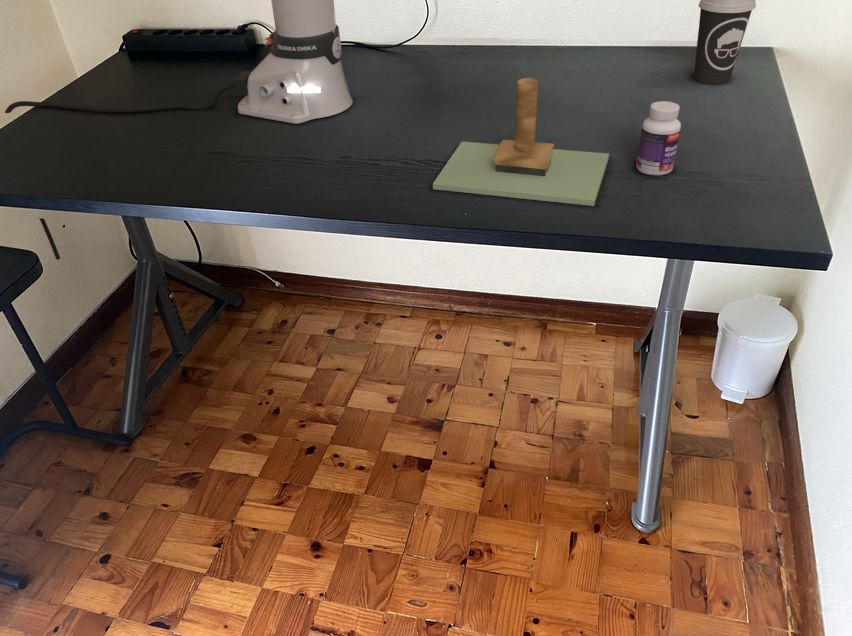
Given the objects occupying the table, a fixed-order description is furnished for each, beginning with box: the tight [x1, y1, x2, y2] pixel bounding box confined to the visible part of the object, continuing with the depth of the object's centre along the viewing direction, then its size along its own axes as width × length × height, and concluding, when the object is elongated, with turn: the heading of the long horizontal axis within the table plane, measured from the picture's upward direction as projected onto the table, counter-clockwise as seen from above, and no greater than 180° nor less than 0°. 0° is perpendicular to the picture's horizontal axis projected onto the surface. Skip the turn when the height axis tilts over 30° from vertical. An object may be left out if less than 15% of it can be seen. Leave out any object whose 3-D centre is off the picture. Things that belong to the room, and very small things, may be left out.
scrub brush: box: [494, 77, 555, 176], centre depth 108 cm, size 8×5×13 cm, turn 69°
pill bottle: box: [635, 100, 682, 176], centre depth 108 cm, size 5×5×10 cm
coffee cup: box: [693, 0, 757, 85], centre depth 135 cm, size 10×10×15 cm
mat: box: [432, 141, 610, 207], centre depth 113 cm, size 24×16×1 cm, turn 70°
